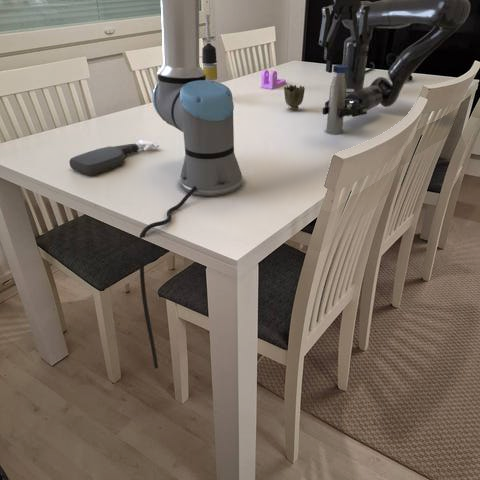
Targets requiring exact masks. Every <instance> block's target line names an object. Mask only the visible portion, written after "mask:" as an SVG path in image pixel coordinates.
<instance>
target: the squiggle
mask: <svg viewBox="0 0 480 480" xmlns="http://www.w3.org/2000/svg"><path fill="white" fill-rule="evenodd" d="M399 56H400V55H396V54H394V53H392V52H390V53H387V55H386V57H385V61H386V64H387V67H391V66H392V65H393V63H394V62H395V61H396V59H397V58H398V57H399ZM391 59H392V60H391ZM393 60H394V61H393ZM413 79H414V77H413V75H412V74H411V75H410V77H409V78H408V79H407V80H408V81H412V80H413Z"/></svg>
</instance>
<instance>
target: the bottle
mask: <svg viewBox="0 0 480 480" xmlns="http://www.w3.org/2000/svg"><path fill="white" fill-rule="evenodd" d="M344 76H345V73H334V76H333V78H332V81H331V84H330V88H329V98H328V100H329V107H328V114H327V118H326V133H327V134H330V135H339V134H342V133H343V127H344V126H343V125H344V117H342V118H338V111H339V110H342V109H344V107H345V98H346V80H345V77H344Z"/></svg>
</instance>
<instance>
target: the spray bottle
mask: <svg viewBox="0 0 480 480" xmlns="http://www.w3.org/2000/svg"><path fill="white" fill-rule="evenodd" d="M159 148H160V145H159V144H158V143H155V142H151V141H148V140H144V139H139V140H138V141H137V142H135V143H129V144H128V143H126V144H122V145H113V146H105V147H100V148H97V149H94V150H90V151H87V152H83V153H81V154H78V155H74V156H73V157H70V159H69V161H68V162H69V167H70V168H71V169H72V170H74V171H75V172H78V173H81V174H83V175H85V176H89V177H90V176H91V177H92V176H95V175H99V174H102V173H105V172H107V171H110V170H113V169H116V168H118V167H120V166H122V165H123V164H124V163H125V158H126V156H127V155H131V154H133V153H138V151H140V150H143V151H144V152H146V151H147V150H149V149H159Z"/></svg>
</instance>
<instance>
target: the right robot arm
mask: <svg viewBox="0 0 480 480" xmlns="http://www.w3.org/2000/svg"><path fill="white" fill-rule="evenodd" d="M360 1H361V0H360ZM361 5H366V6H370V10H369V13H368V21H367V42H366V44H362V46H361V47H359V55H358V58H356V60H355V69H354V71H350V70H348V67H347V72H346V73H345V76H344V77H345V80H346V98H345V107H344V109H342V110H339V111H338V118H342V117H343V118H344V117H350V116H351V117H352V118H355V117H359V116H363V115H367V114H368V111H370V110H371V109H373V108H375V107H377V106H379V105H381V106H382V107H384V108H388V107H391V106H393V105H394V104H395V103H396V101H398V98H399V96H400V94H401V92H402V90H403V87H404V85H405V84H406V82H407V80H409V79H408V78H409V77H410V75H412V74H413V73H414V72H415V71H416V69H417V68H418V67H419V66H420V65H421V64H422V63H423V62H424V60H425V59H426V58H428V57H429V56H430V55H431V54H432V53H433V52H434V51H435V50H436V49H437V48H438V47H439V46H441V44H442V43H444V42H445V41H446V40H447V39H448V38H449V37H450V36H451V35H453V34H454V33H455V32H456V31H457V30H458V29H459V28H460V27H461V26H462V25H463V24H464V23H465V22H466V20H467V18H468V17H469V14H470V12H471V3H470V1H469V0H378V1H373V2H371V1H369V0H363V1H361ZM356 16H357V26H358V32H359V22H360V9H359V11H358V12H357V14H356ZM342 24H343V26H344V27H345V28H347V29H349V30H350V25H349V22H348V19H346V20H342ZM412 24H423V25H429V26H432V27H433V28H432V29H431V30H430V31H429V32H428V33H426V34H425V35H423V37H421V38H420V39H419V40H417V41H416V42H414V43H413V44H411V45H410V46H408V47H407V48H405V50H403V51H402V52H401V53H400V54H399V55H398V56H399V57H398V58H397V59H396V61H395V60H394V61H393V65H392V66H389V69H388V70H387V75H388V78H389V80H388V79H387V78H386V77H384V76H378V77H377V78H375V79H374V80H373V81H372V82H371V83H370V85H369V86H366V87H365V88H364V84H365V76H366V73H369V72H371V71H372V70H374V69H375V68H376V65H375V64H374V62H373V61H370V62H369V66H372V67H371V68H368V69H366V68H367V63H368V62H367V61H368V52H369V46H370V43H371V40H372V37H373V32H374V31H373V30H374V28H378V29H393V30H394V29H404V28H407V27H409V26H410V25H412ZM350 46H354V45H353V42H352V36H351V35H350V37H347V38H346V39H345V40H344V42H343V53H342V54H343V55H342V64H341V65H346V66H348V63H349V53H350ZM390 81H391V82H390ZM328 107H329V99H328V100H327V101H325V102H324V107H322V115H328Z"/></svg>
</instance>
